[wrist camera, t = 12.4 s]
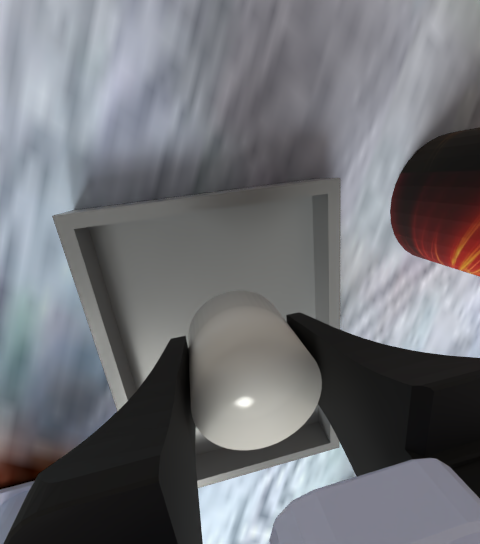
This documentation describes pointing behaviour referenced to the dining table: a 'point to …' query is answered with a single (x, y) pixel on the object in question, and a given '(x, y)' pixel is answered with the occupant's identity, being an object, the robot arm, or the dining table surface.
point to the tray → (205, 284)
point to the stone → (248, 373)
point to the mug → (441, 202)
